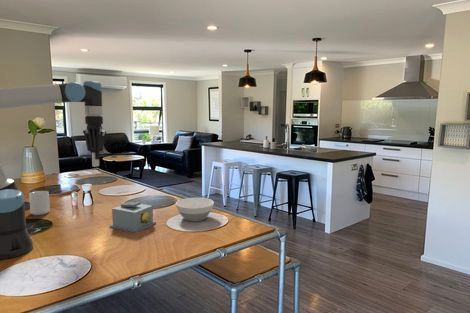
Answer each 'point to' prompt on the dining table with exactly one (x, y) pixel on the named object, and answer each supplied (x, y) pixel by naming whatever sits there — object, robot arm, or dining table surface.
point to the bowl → (194, 208)
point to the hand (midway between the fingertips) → (95, 166)
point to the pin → (145, 217)
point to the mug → (39, 202)
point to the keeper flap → (130, 204)
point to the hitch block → (131, 218)
